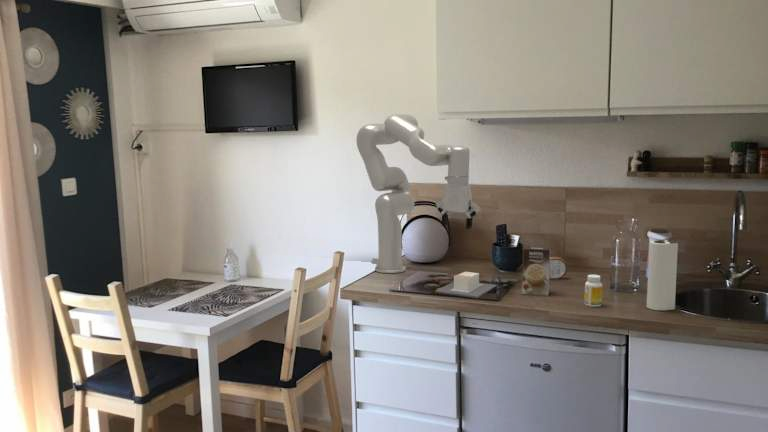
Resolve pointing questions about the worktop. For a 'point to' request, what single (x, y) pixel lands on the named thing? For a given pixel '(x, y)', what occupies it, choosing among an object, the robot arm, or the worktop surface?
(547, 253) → the coffee box
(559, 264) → the tin
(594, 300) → the supplement bottle
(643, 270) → the worktop surface
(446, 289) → the mat
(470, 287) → the card box
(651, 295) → the paper towel roll
